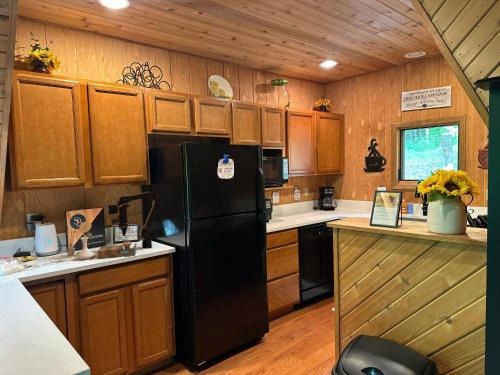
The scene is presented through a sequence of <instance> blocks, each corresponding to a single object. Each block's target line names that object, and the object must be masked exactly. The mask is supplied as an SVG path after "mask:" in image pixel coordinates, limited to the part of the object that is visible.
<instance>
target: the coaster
mask: <svg viewBox="0 0 500 375" xmlns="http://www.w3.org/2000/svg"><path fill="white" fill-rule="evenodd" d="M121 245H123V247H124V246H130V247H131V246H132V241H123V242H122V244H121Z"/></svg>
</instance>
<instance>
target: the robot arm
mask: <svg viewBox="0 0 500 375" xmlns="http://www.w3.org/2000/svg"><path fill="white" fill-rule="evenodd" d="M146 198H148V199H150V200H151V201H152V203H151V204H152V205H151V210H150V211H149V214H148V215H147V218H146V220H145V223H144V225H143V226H140V229H139V230H138V232H139V233H138V234H139V236H140V237H141V238H142V241H141V248H142V249H152V248H153V244H152V243H153V242H152V239H153V236H151V235H150V232H151V226H152V223H153V221H154V218H155V216H156V214H157V211H158V209H159V208H160V207H161V206H162V204H163V202H164V200H163V198H162V197H161V196H157V195H155V194H154V193H152V192H151V191H145V192H141V193H137V194H136V193H135V194H133V195H120V196H118V198H117V201H116V203H115V204H108V205H107V212H106V213H107V215H117V213H118V217H113V218H112V219H111V220H110V223H111V225H115V224H117V223H118V226H117V227H118V228H119V229H120V230H121V234H122V237H125V236H126V233H127V230H128V228H129V219H128V217H129V216H128V208H129V207H131V205H130V204H129V203H131V202H133V201H138V200H142V199H146Z"/></svg>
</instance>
